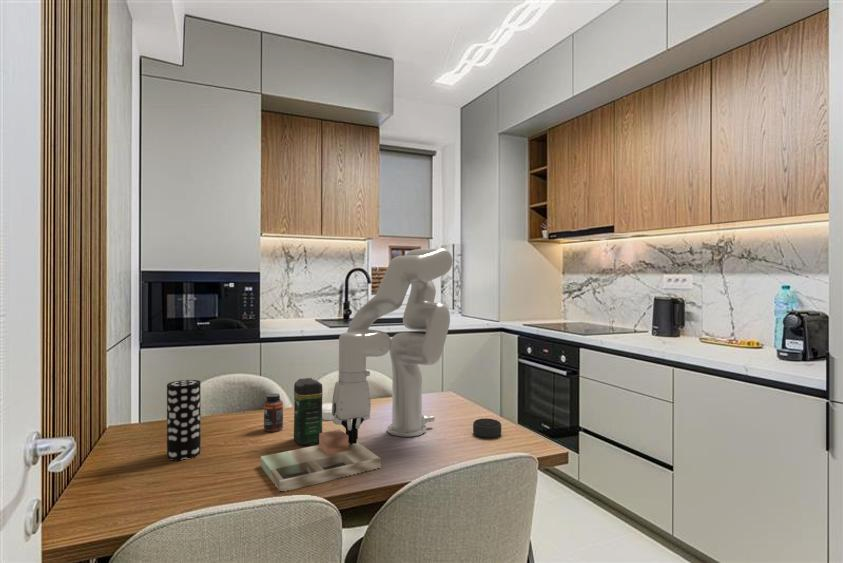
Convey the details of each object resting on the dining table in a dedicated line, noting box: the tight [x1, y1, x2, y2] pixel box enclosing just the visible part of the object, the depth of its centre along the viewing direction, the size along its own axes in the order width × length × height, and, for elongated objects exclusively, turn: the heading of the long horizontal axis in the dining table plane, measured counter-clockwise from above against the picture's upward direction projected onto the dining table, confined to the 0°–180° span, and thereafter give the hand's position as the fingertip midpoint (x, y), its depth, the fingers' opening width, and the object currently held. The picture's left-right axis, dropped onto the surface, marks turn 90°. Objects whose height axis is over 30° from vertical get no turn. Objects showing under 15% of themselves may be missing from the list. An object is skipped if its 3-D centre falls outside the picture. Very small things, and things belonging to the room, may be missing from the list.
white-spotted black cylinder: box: [166, 379, 202, 460], centre depth 131 cm, size 8×8×20 cm
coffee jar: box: [293, 377, 324, 446], centre depth 143 cm, size 10×8×19 cm
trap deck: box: [259, 441, 382, 492], centre depth 123 cm, size 26×18×2 cm
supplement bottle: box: [263, 393, 284, 433], centre depth 153 cm, size 6×6×11 cm
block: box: [318, 429, 348, 455], centre depth 129 cm, size 6×6×4 cm
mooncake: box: [322, 402, 334, 421], centre depth 169 cm, size 12×12×4 cm
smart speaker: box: [472, 418, 502, 439], centre depth 150 cm, size 9×9×4 cm
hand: (351, 442), depth 132 cm, fingers closed
